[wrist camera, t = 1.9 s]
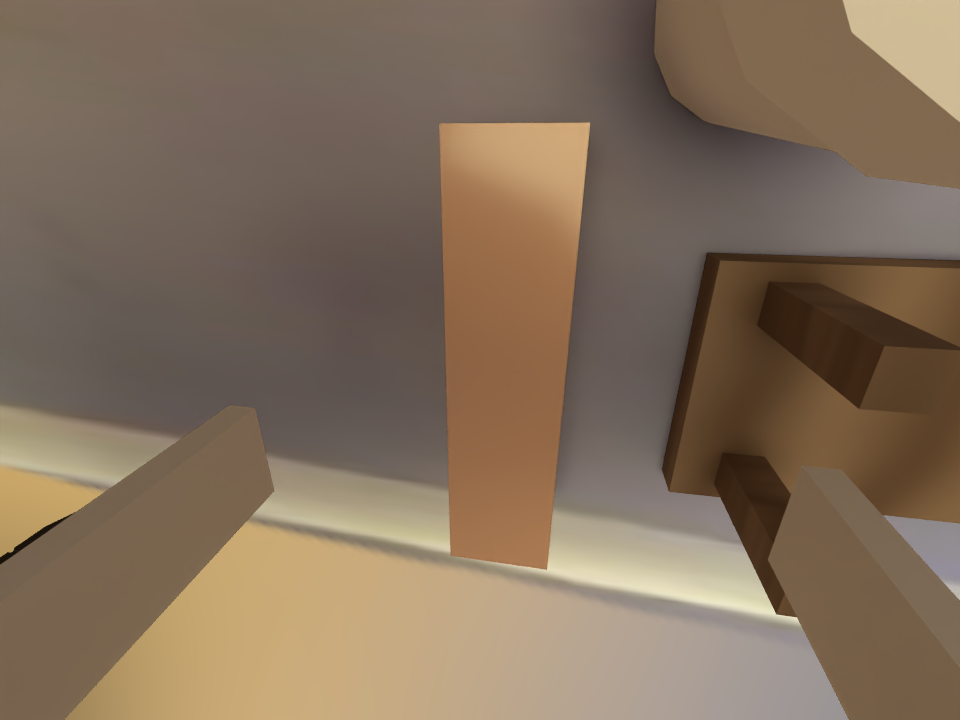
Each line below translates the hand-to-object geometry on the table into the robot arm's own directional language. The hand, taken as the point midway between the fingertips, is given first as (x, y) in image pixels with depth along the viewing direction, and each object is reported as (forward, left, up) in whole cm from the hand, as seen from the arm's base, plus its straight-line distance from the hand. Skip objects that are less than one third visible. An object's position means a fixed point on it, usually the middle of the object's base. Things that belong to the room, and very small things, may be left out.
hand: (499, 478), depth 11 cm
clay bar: (0, 0, -9) cm, 9 cm away
